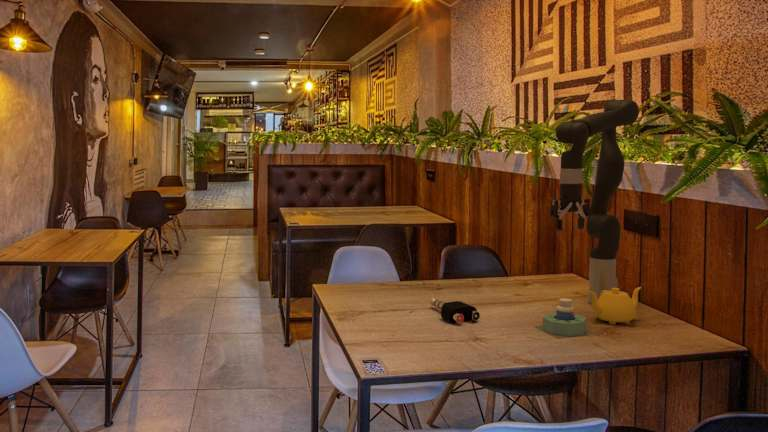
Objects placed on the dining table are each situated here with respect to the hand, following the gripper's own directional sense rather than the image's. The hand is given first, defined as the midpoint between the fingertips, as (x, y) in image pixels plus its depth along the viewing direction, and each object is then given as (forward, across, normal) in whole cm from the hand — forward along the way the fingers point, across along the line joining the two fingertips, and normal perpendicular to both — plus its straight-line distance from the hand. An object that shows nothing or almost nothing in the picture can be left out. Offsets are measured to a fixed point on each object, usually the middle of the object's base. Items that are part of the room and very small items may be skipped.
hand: (569, 229), depth 218 cm
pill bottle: (+30, +12, +15) cm, 35 cm away
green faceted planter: (+30, +12, +15) cm, 35 cm away
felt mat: (+30, +12, +15) cm, 36 cm away
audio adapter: (+30, +38, -16) cm, 51 cm away
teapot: (+30, -10, +11) cm, 34 cm away
